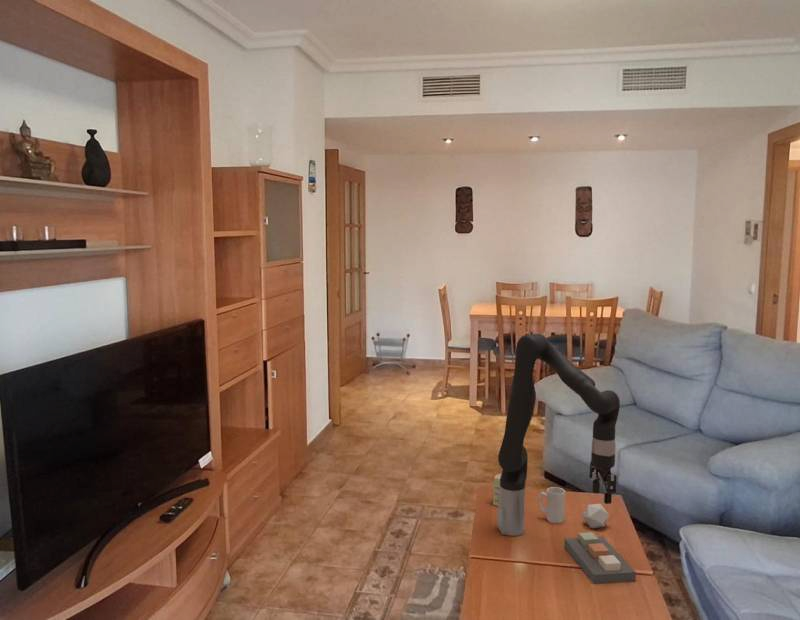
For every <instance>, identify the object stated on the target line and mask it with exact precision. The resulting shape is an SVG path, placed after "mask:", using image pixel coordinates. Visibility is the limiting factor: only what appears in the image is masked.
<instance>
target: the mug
mask: <svg viewBox="0 0 800 620" xmlns="http://www.w3.org/2000/svg"><path fill="white" fill-rule="evenodd" d="M544 497H545V498H546V508H544V507H543V505H542V499H543V498H544ZM565 500H566V490H565V489H564V488H562V487H557V486H552V487H548V488H547V489H546V492H544V491H543V492H542V491H541V492H540V495H539V496H538V500H537V503H538V507H539V510H540V512H541V513H543V514H546V520H547V522H549V523H552V524H562V523H563V522H564V519H565V518H564V517H565V516H564V515H565Z"/></svg>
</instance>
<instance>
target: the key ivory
mask: <svg viewBox="0 0 800 620" xmlns="http://www.w3.org/2000/svg"><path fill="white" fill-rule="evenodd" d="M598 565H599V566H600V567H601V568H602V569H603V571H604V572H614V571H620V566H621V563H620V562H619V561H618V560H617V558H616V557H615V556H614V555H606V556H599V563H598Z"/></svg>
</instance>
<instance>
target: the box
mask: <svg viewBox="0 0 800 620" xmlns="http://www.w3.org/2000/svg"><path fill="white" fill-rule="evenodd" d="M501 475H502V473H497V474H496V475H495V476H494V478H493V496H492V498H493V499H492V501H493V502H492V504H493V506H496V507H498V503H500V478H501Z"/></svg>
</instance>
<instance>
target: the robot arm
mask: <svg viewBox="0 0 800 620" xmlns="http://www.w3.org/2000/svg"><path fill="white" fill-rule="evenodd" d="M515 347H516V348H515V360H514V372H513V376H512V384H511V389H510V393H509V399H508V405H507V413H506V418H505V419H506V421H505V429H504V433H503V437H502V441H501V446H500V449H499V452H498V456H497V459H498V464H499V466H500V467H501V469H502V472H501V474H502V475H501V478H500V503H498V506H497V529H498V532H500V534H501V535H506V536H509V537H517V536H521V535H523V534H524V533H525V506H526V505H525V504H526V503H525V502H526V501H525V500H526V482H527V476H528V475H527V474H528V452H527V449H526V447H525V446H524V441H525V437H526V434H527V431H528V428H529V426H530V423H531V421H532V418H533V416H534V411H535V405H536V399H537V393H536V388H535V383H534V369H535V364H536V361H537V360H539V361H542V362H544V363H545V364H547V365H549V367H551V368H552V369H553V370H554V372H555V373H556V374H557V375H558V377H559V378H560V379H559V380H561V381H562V382H563V384H565V386H567V387H568V388H569V389H570V390H572V391H573V392H574V393H576V394H577V395H578V396H579V397H580V398H581V400H582V401H583V402H584V404H585V405H586V407H588V408H589V409H590V410H591V411H592V412H593V413H595V414H598V415H597V418H596V419H595V420H594V421H593V423H592V424H593V426H592V440H591V453H590V454H591V456H590V462H589V475H588V476H589V478H590V479H591V482H592V493H593V494H599V493H600V488H601V487H600V484H601V486H602V487H603V490H604V494H603V495H604V496H603V497H604V498H603V502H604V504H605V505H609V504H610V505H611V504H612V499H613V498H612V494H616V492H617V475H616V474H612V471H611V469H612V468H614V467H615V465H616V424H617V421H618V418H619V413H620V409H621V406H620V405H621V401H620V398H619V395H618V394H617V392H615V391H613V390H610V389H609V390H608V389H607V390H604V391H600V390H599V389H597V388H596V382H595V380H594V379H593V378H591V377H590V376H589V375H587V374H586V373H584V372H583V371H582V370H581V369H579V368H578V367H577V366H576V365H574V364H573V363H572V362H571V361H570V360H569V359H568V358H566V357H565V355H563V353H561V352H560V351H559V350H558V348H556V347H555V346H554V344H553V343H552V342H551V341H549V339H548V338H547V337H545V335H543V334H541V333H530V334H524V335H521V336H520V338H519V339H518V341H517V343H516V346H515Z"/></svg>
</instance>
